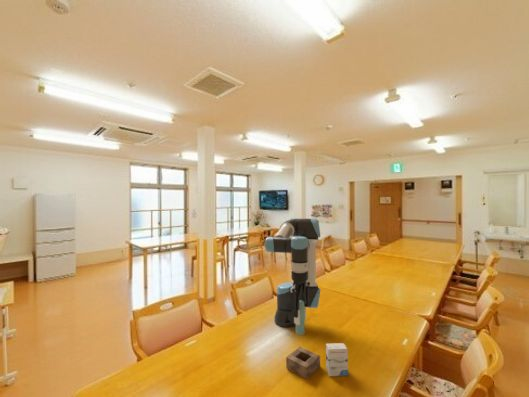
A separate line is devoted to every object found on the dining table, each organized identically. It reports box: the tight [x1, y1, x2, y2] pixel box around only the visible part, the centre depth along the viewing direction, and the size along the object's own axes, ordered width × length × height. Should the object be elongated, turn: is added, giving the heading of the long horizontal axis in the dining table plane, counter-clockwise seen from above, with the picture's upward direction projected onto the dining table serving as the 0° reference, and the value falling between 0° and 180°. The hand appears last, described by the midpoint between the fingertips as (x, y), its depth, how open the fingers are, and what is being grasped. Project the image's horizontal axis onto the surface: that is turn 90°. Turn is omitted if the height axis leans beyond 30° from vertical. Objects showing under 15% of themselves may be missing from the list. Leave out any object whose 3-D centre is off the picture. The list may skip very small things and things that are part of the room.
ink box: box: [325, 342, 349, 377], centre depth 113 cm, size 8×5×12 cm, turn 92°
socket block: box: [285, 346, 321, 380], centre depth 116 cm, size 11×11×5 cm
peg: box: [295, 300, 306, 336], centre depth 116 cm, size 4×4×14 cm
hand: (300, 322), depth 116 cm, fingers closed on peg, 4 cm apart
